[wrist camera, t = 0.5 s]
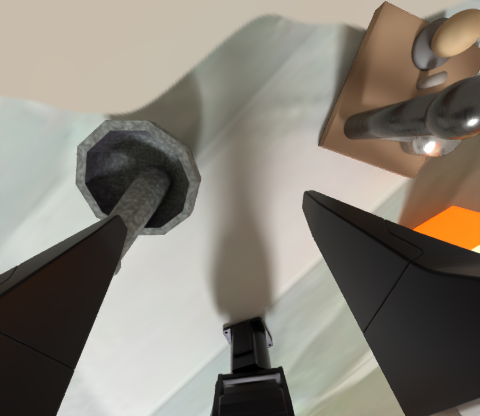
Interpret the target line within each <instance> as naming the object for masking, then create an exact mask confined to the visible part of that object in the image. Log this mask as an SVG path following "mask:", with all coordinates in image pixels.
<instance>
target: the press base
mask: <svg viewBox="0 0 480 416" xmlns="http://www.w3.org/2000/svg"><path fill="white" fill-rule="evenodd" d="M479 37H480V10H478V9H467V10H464V11H461V12H459V13H457V14H455V15H453V16H452V17H450V18H441V19H438V20H436V21H434V22H432V23H431V24H430V23H428V22H426V21H424V20H422V19H420V18H418V17H416V16H414V15H412V14H410V13H408V12H406V11H404V10H402V9H400V8H398V7H396V6H394V5H392V4H390V3H388V2H386V1H385V2H384V3H383V4H382V5H381V6H380V7H379V8H378V9H376V10H375V13H374V15H373V18H372V20H371V22H370V25H369V27H368V29H367V32H366V34H365V36H364V39H363V41H362V43H361V46H360V48H359V50H358V53H357V55H356V58H355V60H354V62H353V65H352V67H351V69H350V72H349V74H348V76H347V79H346V81H345V83H344V86H343V88H342V91H341V93H340V95H339V98H338V100H337V102H336V105H335V107H334V109H333V112H332V114H331V117H330V119H329V121H328V124H327V126H326V128H325V131H324V133H323V135H322V138H321V140H320V142H319V145H318V146H320V147H323V148H326V149H328V150H331V151H334V152H337V153H340V154H342V155H345V156H348V157H351V158H354V159H357V160H359V161H362V162H365V163H368V164H371V165H373V166H376V167H379V168H382V169H385V170H387V171H390V172H393V173H396V174H399V175H401V176H404V177H409V178H414V177H415V176H416V174H417V172H418V171H419V169H420V167H421V166H422V164H423V162H424V161H425V159H426V157H427V156H416V155H409V154H406V153H405V152H404V151H403V150H402V148H401V144H400V142H394V141H385V140H376V139H359V140H351V139H348V138H347V137H346V136H345V134H344V124H345V122H346V120H347V119H348V118H349V117H350V116H351V115H353V114H356V113H360V112H364V111H368V110H371V109H375V108H379V107H383V106H386V105H390V104H394V103H398V102H401V101H405V100H409V99H413V98H416V97H420V96H424V95H428V94H431V93H435V92H439V91H442V90H443V89H444V88H446V87H447V86H449V85H451V84H453V83H455V82H457V81H459V80H461V79H464V78H467V77H471V76H475V75H477V73H478V72H479V70H480V48H479V47H477V46H475V45H473V44H474V43H475V42H476V41H477V39H478V38H479Z"/></svg>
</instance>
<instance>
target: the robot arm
mask: <svg viewBox="0 0 480 416" xmlns="http://www.w3.org/2000/svg"><path fill="white" fill-rule="evenodd" d="M302 209H303V212H304V215H305V217H306V220H307V223H308V226H309V228H310V231H311V234H312V236H313V238H314V240H315V242H316V244H317V246H318V248H319V250H320V252H321V253H322V255H323V257H324V259H325V261H326V263H327V265H328V267H329V269H330V271H331V273H332V275H333V277H334V279H335V281H336V282H337V284H338V286H339V288H340V290H341V292H342V294H343V296H344V298H345V300H346V302H347V304H348V306H349V308H350V309H351V311H352V313H353V315H354V317H355V319H356V321H357V323H358V325H359V327H360V329H361V331H362V333H364V334H363V335H364V337H365V339H366V341H367V343H368V345H369V346H370V348H371V350H372V352H373V354H374V356H375V358H376V360H377V362H378V364H379V366H380V368H381V370H382V372H383V373H384V375H385V377H386V379H387V381H388V383H389V385H390V387H391V389H392V391H393V393H394V395H395V397H396V399H397V401H398V402H399V404H400V406H401V408H402V410H403V412H404V414H405V416H480V253H478V252H475V251H472V250H469V249H466V248H463V247H460V246H457V245H454V244H451V243H449V242H446V241H443V240H440V239H437V238H434V237H431V236H428V235H426V234H423V233H420V232H417V231H414V230H411V229H409V228H406V227H404V226H401V225H399V224H396V223H393V222H391V221H389V220H384V219H383V218H381V217H378V216H376V215H373V214H371V213H369V212H366V211H364V210H361V209H359V208H356V207H354V206H351V205H349V204H346V203H344V202H341V201H339V200H336V199H334V198H331V197H329V196H326V195H324V194H321V193H319V192H316V191H314V190H310V191H305V192H304V195H303V204H302ZM127 233H128V229H127V226H126V225H125V223H124V221H123V220H122V218H121V217H120V216H119V215H111V216H108V217H106V218H104V219H102V220H100V221H99V222H97V223H95V224H93V225H91V226H89V227H88V228H86V229H84V230H82V231H80V232H78V233H76V234H75V235H73V236H71V237H69V238H67V239H65V240H64V241H62V242H60V243H58V244H56V245H54V246H53V247H51V248H49V249H47V250H45V251H43V252H41V253H40V254H38V255H36V256H34V257H32V258H30V259H29V260H27V261H25V262H23V263H21V264H20V265H19V266H16V267H14V268H12V269H10V270H8V271H6V272H5V273H3V274H1V275H0V416H56V415H57V412H58V410H59V408H60V405H61V403H62V400H63V398H64V395H65V393H66V390H67V388H68V385H69V383H70V381H71V378H72V376H73V373H74V369H75V368H76V365H77V363H78V361H79V358H80V356H81V353H82V351H83V348H84V346H85V344H86V341H87V339H88V336H89V334H90V331H91V329H92V326H93V324H94V322H95V319H96V317H97V314H98V312H99V309H100V307H101V304H102V302H103V300H104V297H105V295H106V292H107V290H108V287H109V285H110V282H111V280H112V278H113V275H114V273H115V270H116V268H117V265H118V263H119V260H120V257H121V254H122V250H123V247H124V243H125V240H126V236H127ZM223 334H224V336H225V337H226V339H227V341H228V342H229V344H230V346H231V374H218V381H217V382H216V385H215V395H214V402H213V407H212V411H211V415H210V416H295V415H294V410H293V406H292V401H291V397H290V394H289V390H288V386H287V383H286V379H285V375H284V371H283V368H282V366H280V367H278V368H271V363H270V357H269V351H268V348H269V347H271V346H273V343H272V340H271V338H270V336H269V334H268V332H267V330H266V328H265V325H264V323H263V321H262V319H261V318H259V317H258V318H255V319H252V320H249V321H246V322H242V323H239V324H236V325H233V326H230V327H227V328H225V329H223Z"/></svg>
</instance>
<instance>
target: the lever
mask: <svg viewBox="0 0 480 416" xmlns="http://www.w3.org/2000/svg"><path fill="white" fill-rule="evenodd" d="M344 134H345V136H346V137H347V138H348V139H351V140H359V139H376V140H385V141H394V142H400V144H401V148H402V150H403V151H404V152H405V153H406V154H409V155H416V156H436V157H438V156H443V155H446V154H448V153H450V152H451V151H453V150H454V149H455V148H456V147H457V146H458V145H459V143H460V142H461V141H462V139H466V138H470V137H474V136H477V135H479V134H480V75H475V76H471V77H467V78H464V79H461V80H459V81H457V82H455V83H453V84H451V85H449V86H447V87H446V88H444V89H443V90H442V91H439V92H435V93H431V94H428V95H424V96H420V97H416V98H413V99H409V100H405V101H401V102H398V103H394V104H390V105H386V106H383V107H379V108H375V109H371V110H368V111H364V112H360V113H356V114H353V115H351V116H350V117H349V118H348V119H347V120H346V122H345V124H344Z"/></svg>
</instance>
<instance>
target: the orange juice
mask: <svg viewBox="0 0 480 416" xmlns="http://www.w3.org/2000/svg"><path fill="white" fill-rule="evenodd" d="M413 230H414V231H417V232H420V233H423V234H426V235H428V236H431V237H434V238H437V239H440V240H443V241H446V242H449V243H451V244H454V245H457V246H460V247H463V248H466V249H469V250H472V251H475V252H478V253H480V213H478V212H474V211H471V210H467V209H463V208H459V207H456V206H452V207H450V208H448V209H447V210H445V211H443V212H442V213H440V214H438V215H436V216H435V217H433V218H431V219H430V220H428V221H426V222H425V223H423V224H421V225H420V226H418V227H416V228H415V229H413Z"/></svg>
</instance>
